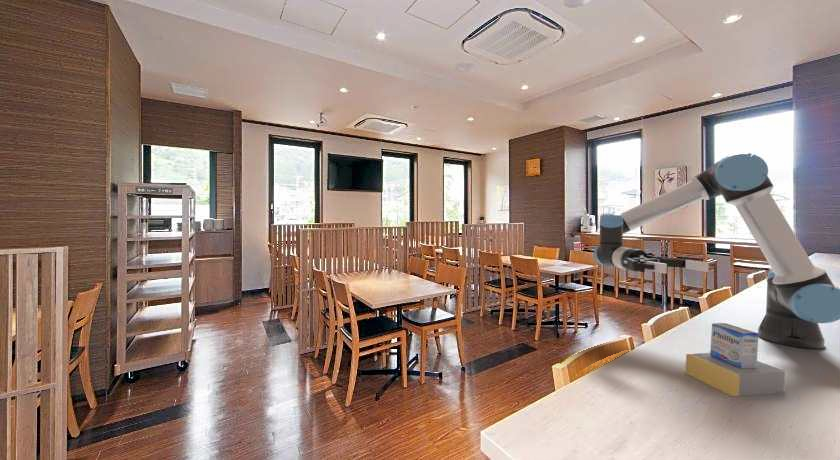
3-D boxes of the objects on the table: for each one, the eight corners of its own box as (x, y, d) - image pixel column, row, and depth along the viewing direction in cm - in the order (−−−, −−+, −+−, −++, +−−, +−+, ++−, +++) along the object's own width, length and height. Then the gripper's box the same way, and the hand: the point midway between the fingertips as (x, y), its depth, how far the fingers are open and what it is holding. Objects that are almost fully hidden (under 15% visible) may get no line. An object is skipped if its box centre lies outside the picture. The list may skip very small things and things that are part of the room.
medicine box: (709, 356, 90) (710, 323, 90) (724, 355, 91) (725, 322, 90) (741, 369, 82) (743, 333, 82) (757, 368, 83) (759, 332, 83)
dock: (731, 369, 94) (731, 351, 93) (783, 392, 82) (784, 371, 82) (685, 372, 92) (686, 354, 91) (732, 396, 80) (733, 375, 79)
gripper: (662, 268, 122) (723, 279, 101) (597, 271, 118) (647, 282, 97) (662, 247, 121) (724, 253, 101) (597, 249, 118) (647, 255, 97)
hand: (686, 268), depth 99 cm, fingers open, 13 cm apart
